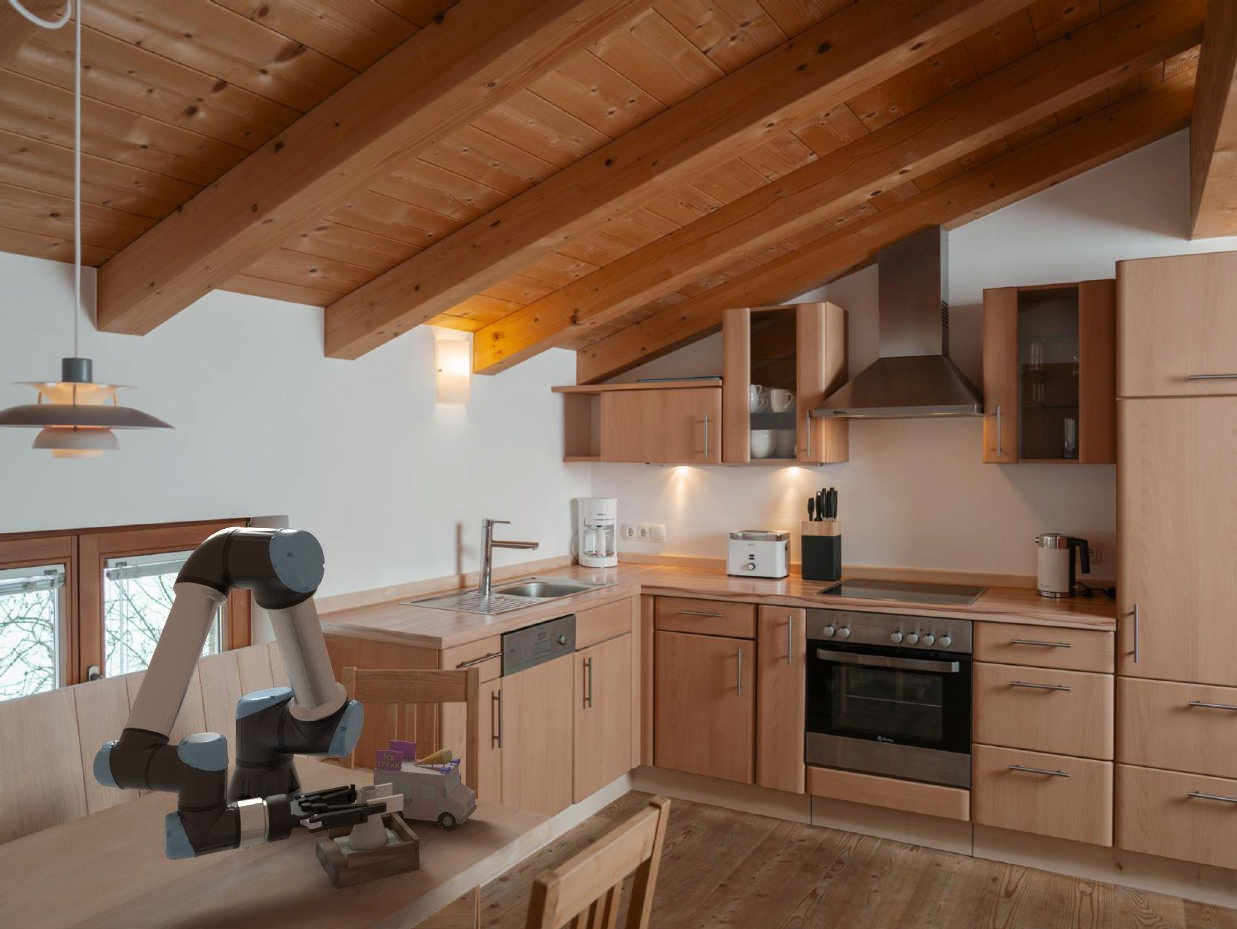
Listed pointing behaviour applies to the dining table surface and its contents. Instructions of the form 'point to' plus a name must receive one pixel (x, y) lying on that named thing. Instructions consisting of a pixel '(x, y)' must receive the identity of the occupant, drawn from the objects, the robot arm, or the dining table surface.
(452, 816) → the toy vehicle
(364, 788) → the flask
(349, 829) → the dock
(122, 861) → the dining table surface
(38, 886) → the dining table surface
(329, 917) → the dining table surface
